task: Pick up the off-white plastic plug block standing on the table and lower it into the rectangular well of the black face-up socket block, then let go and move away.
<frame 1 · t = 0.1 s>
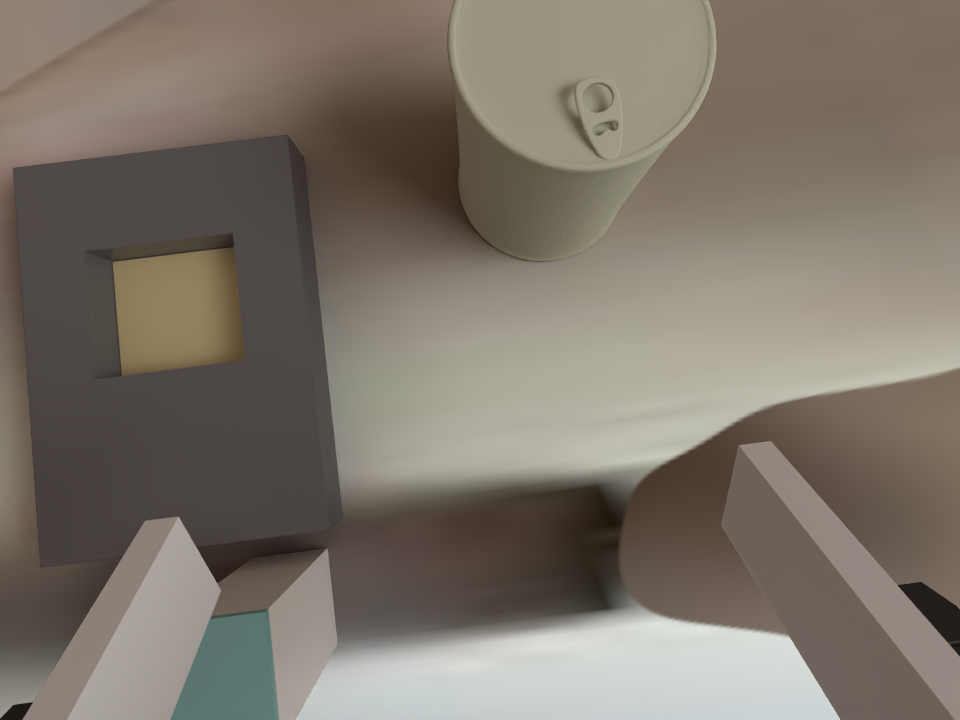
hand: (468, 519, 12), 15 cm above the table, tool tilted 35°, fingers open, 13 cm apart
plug: (294, 600, 27), on the table
socket: (195, 349, 28), on the table
can: (540, 182, 29), on the table
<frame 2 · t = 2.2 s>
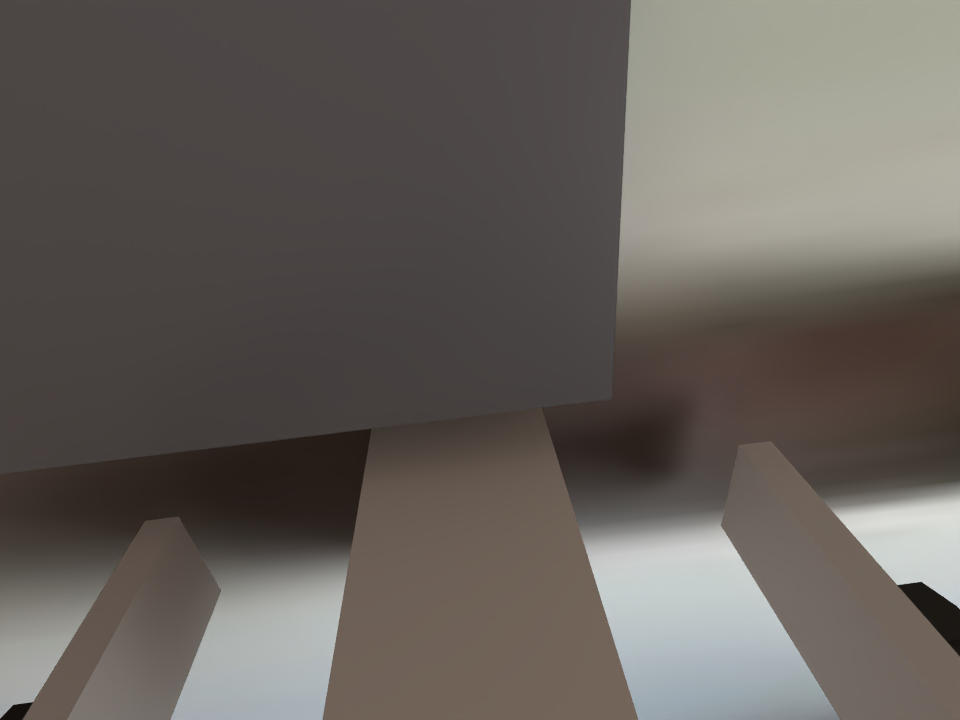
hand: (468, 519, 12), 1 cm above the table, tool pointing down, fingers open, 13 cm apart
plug: (466, 479, 14), on the table
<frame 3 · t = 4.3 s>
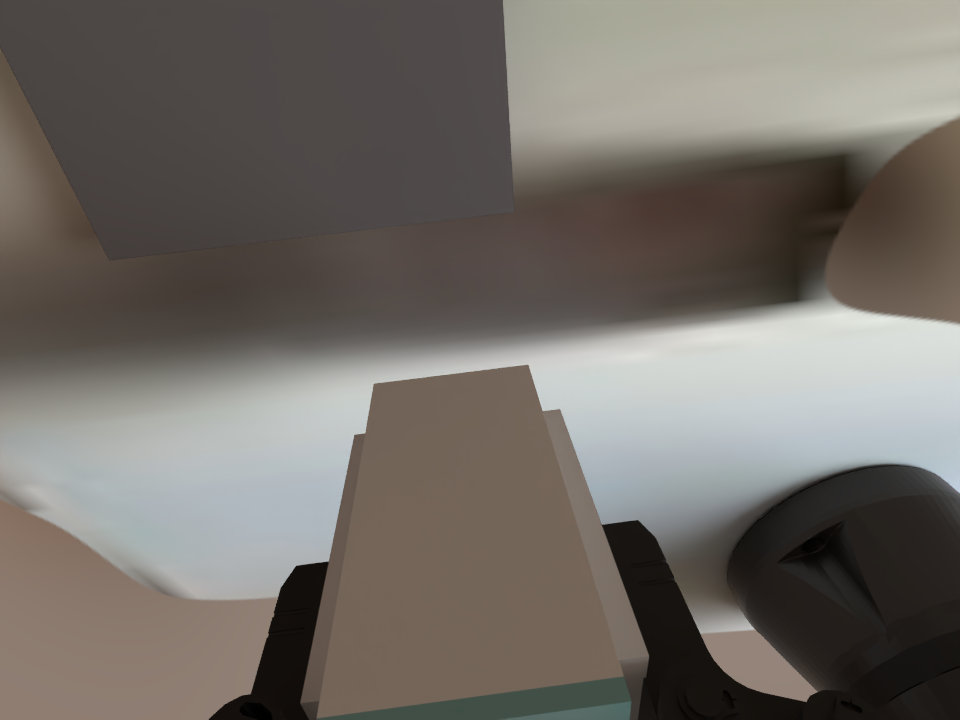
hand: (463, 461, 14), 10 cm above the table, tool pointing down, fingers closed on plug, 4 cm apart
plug: (462, 447, 14), point 9 cm above the table, touching gripper
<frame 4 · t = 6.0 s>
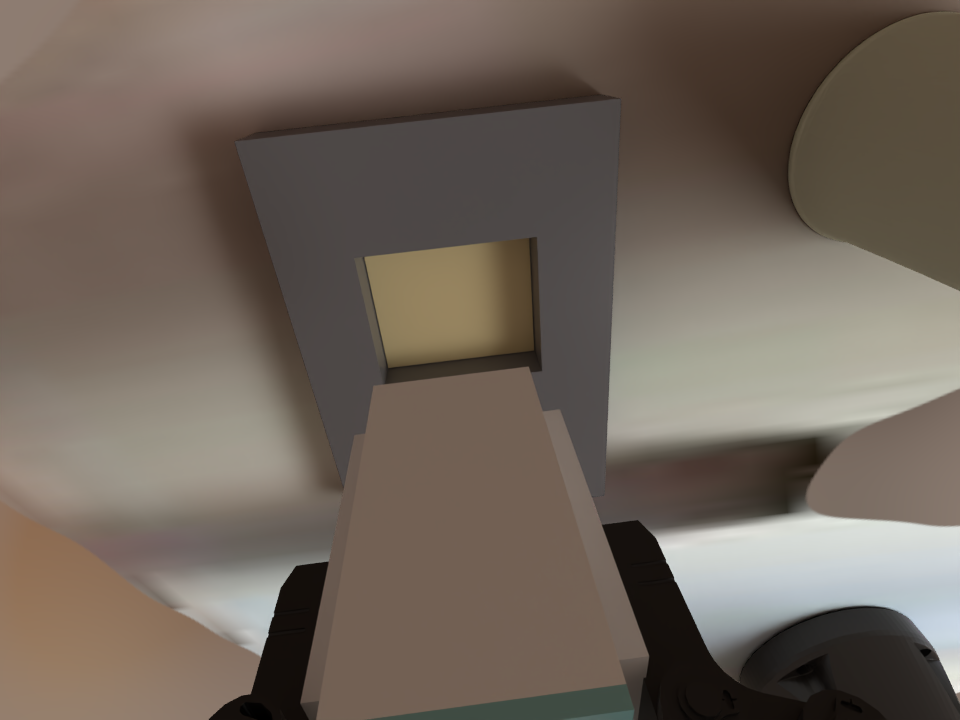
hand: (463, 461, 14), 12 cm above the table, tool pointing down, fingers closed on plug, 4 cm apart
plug: (462, 449, 14), point 12 cm above the table, touching gripper
socket: (458, 333, 26), on the table
can: (888, 137, 23), on the table
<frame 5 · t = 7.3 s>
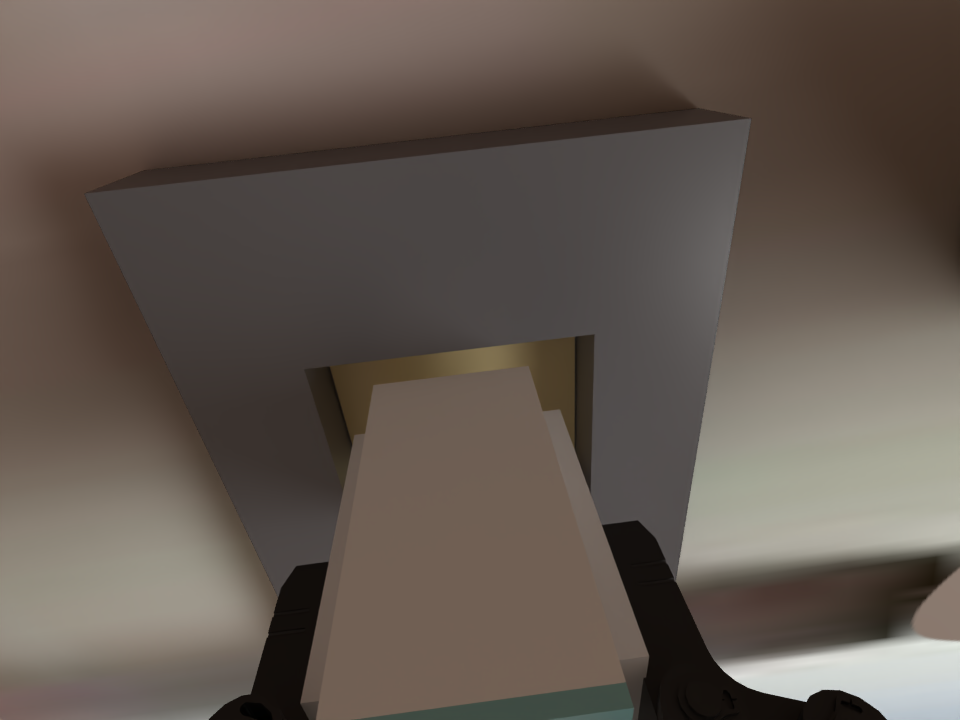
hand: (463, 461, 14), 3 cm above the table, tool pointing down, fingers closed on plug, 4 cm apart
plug: (462, 449, 14), point 3 cm above the table, touching gripper
socket: (466, 445, 18), on the table
when the fingers open (3 cm above the table, at t = 8.0 s): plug drops 2 cm, resting on socket.
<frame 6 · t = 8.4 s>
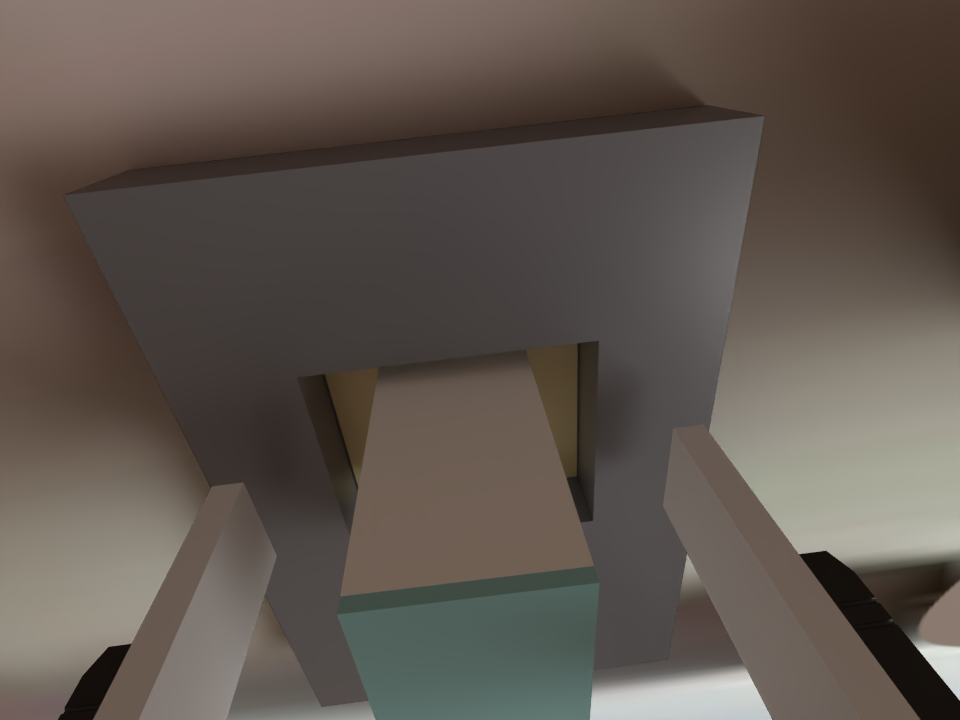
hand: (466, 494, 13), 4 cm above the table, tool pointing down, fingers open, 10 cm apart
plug: (460, 413, 16), point 1 cm above the table, touching socket
socket: (465, 452, 17), on the table
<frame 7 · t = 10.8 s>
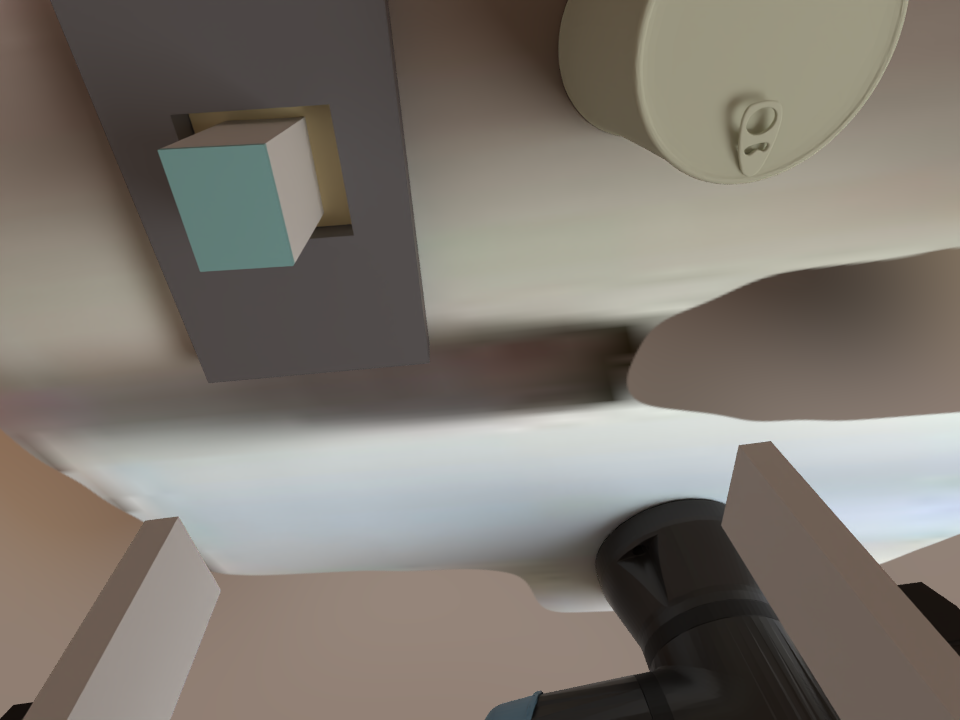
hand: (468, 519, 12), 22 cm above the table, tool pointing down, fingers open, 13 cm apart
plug: (277, 169, 28), point 1 cm above the table, touching socket
socket: (289, 205, 29), on the table
can: (643, 40, 27), on the table
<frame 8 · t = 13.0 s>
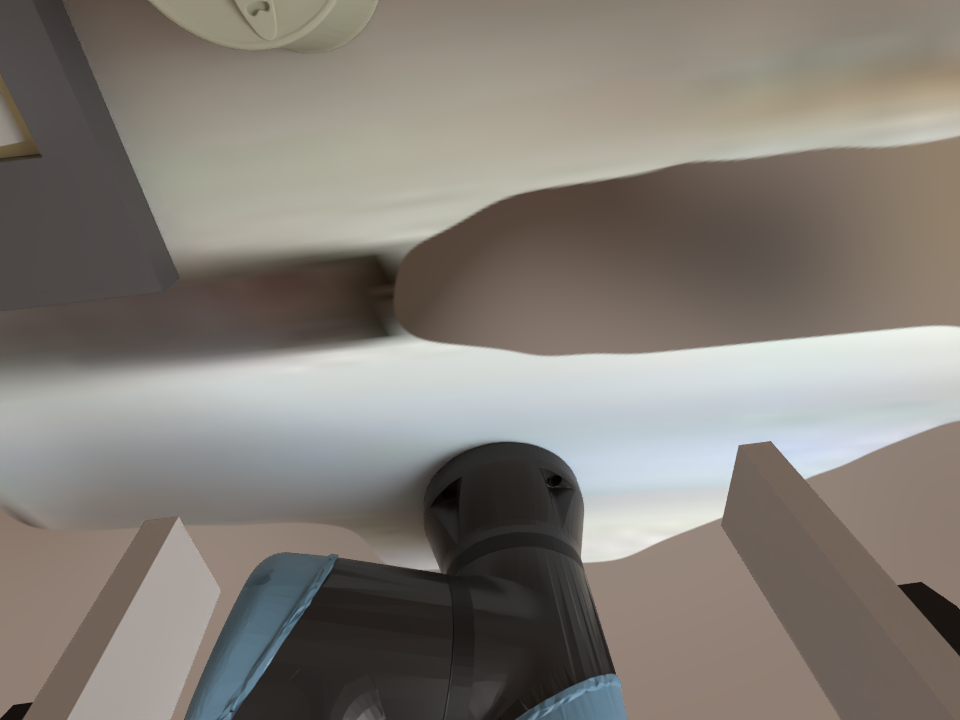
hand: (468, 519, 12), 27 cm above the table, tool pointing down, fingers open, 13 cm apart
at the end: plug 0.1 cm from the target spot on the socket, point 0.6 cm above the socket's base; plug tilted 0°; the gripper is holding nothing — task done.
